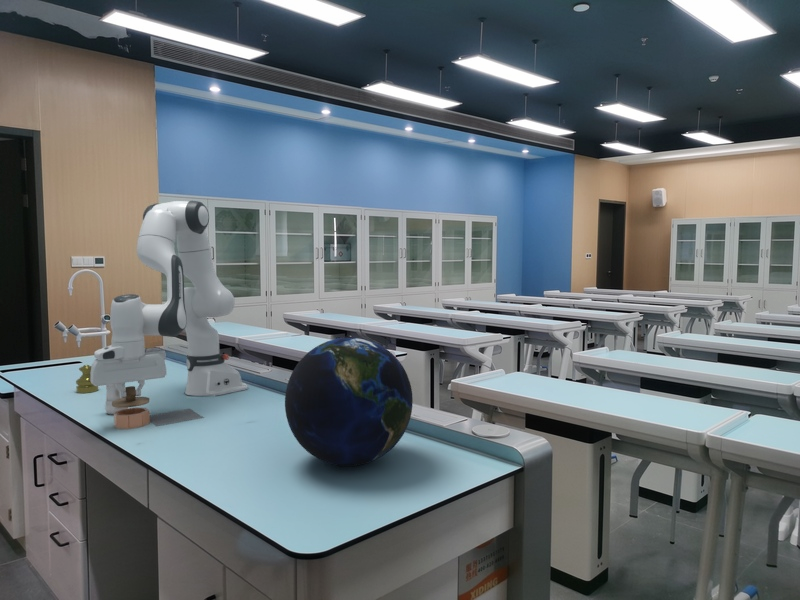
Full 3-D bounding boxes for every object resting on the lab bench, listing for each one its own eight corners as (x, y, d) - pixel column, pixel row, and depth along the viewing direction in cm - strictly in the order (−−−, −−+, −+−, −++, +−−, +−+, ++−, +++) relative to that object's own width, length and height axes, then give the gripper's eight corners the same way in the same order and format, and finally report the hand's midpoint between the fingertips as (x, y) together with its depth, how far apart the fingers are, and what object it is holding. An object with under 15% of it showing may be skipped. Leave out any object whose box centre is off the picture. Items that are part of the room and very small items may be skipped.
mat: (189, 410, 187) (189, 408, 187) (204, 419, 176) (204, 417, 176) (144, 418, 178) (144, 416, 178) (156, 428, 167) (156, 426, 167)
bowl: (144, 420, 176) (143, 405, 176) (152, 426, 169) (151, 411, 169) (112, 425, 170) (111, 411, 170) (119, 432, 163) (118, 417, 163)
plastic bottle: (133, 412, 185) (130, 351, 183) (114, 418, 179) (111, 354, 177) (119, 410, 187) (116, 350, 186) (100, 415, 181) (97, 353, 180)
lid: (144, 397, 176) (143, 382, 176) (153, 403, 168) (152, 387, 168) (108, 402, 170) (107, 386, 169) (116, 409, 162) (115, 392, 162)
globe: (304, 496, 118) (300, 351, 115) (275, 452, 145) (271, 334, 143) (435, 473, 129) (433, 341, 127) (385, 436, 157) (383, 327, 155)
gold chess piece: (86, 394, 212) (84, 367, 211) (71, 392, 215) (70, 366, 214) (103, 389, 219) (101, 363, 218) (88, 388, 221) (87, 362, 221)
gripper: (162, 345, 177) (164, 389, 178) (88, 352, 164) (90, 399, 165) (168, 347, 172) (170, 393, 173) (92, 355, 159) (94, 404, 160)
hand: (130, 396), depth 169 cm, fingers closed on lid, 3 cm apart
